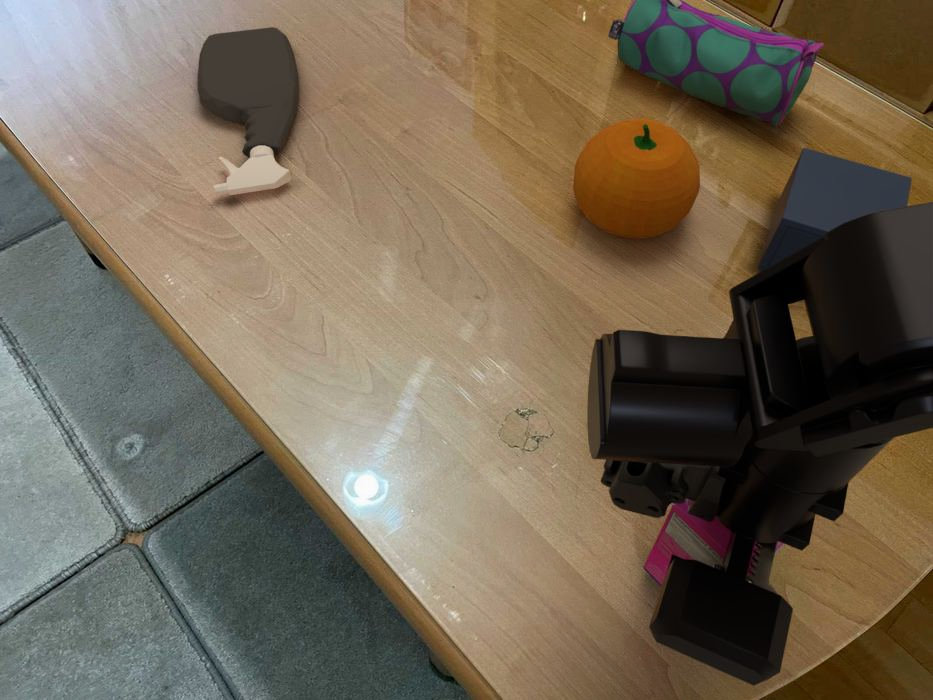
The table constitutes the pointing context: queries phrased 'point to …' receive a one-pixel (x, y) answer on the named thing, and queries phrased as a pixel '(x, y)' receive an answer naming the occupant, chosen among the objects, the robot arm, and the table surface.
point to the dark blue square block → (783, 234)
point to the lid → (839, 192)
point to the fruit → (636, 178)
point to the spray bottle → (251, 100)
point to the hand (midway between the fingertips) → (710, 550)
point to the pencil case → (715, 57)
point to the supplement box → (689, 542)
